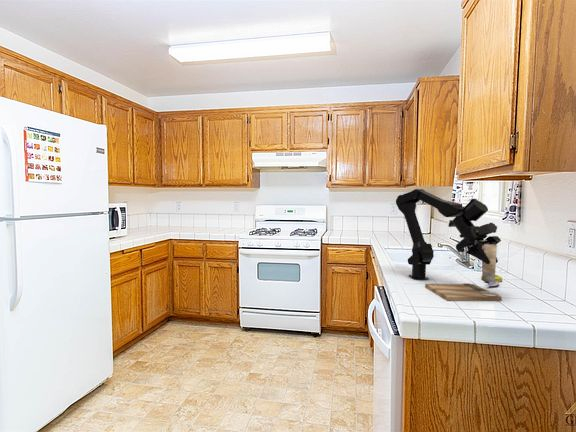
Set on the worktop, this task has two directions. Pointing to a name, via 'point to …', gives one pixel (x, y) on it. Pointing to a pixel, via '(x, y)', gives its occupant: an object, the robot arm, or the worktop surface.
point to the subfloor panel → (463, 292)
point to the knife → (496, 282)
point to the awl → (489, 269)
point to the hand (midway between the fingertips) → (492, 262)
